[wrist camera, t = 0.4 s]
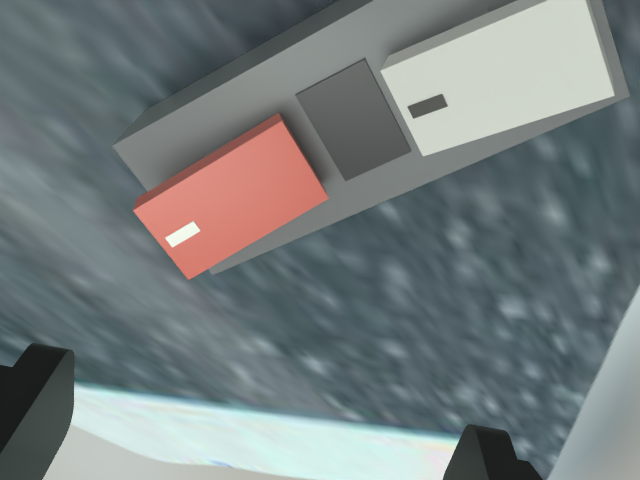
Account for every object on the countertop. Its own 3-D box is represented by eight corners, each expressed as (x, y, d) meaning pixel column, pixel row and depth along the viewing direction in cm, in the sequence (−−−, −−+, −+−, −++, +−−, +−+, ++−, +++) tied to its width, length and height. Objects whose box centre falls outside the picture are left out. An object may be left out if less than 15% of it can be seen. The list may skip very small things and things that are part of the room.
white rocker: (581, -28, 22) (581, -13, 20) (612, 78, 24) (614, 96, 22) (388, 55, 26) (379, 71, 25) (429, 139, 28) (422, 157, 27)
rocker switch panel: (540, -115, 27) (577, -108, 22) (595, 63, 31) (638, 104, 26) (145, 110, 34) (104, 154, 29) (231, 229, 38) (208, 285, 33)
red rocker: (278, 112, 28) (282, 121, 26) (323, 186, 30) (329, 199, 28) (137, 197, 29) (132, 211, 27) (190, 264, 31) (188, 280, 29)
